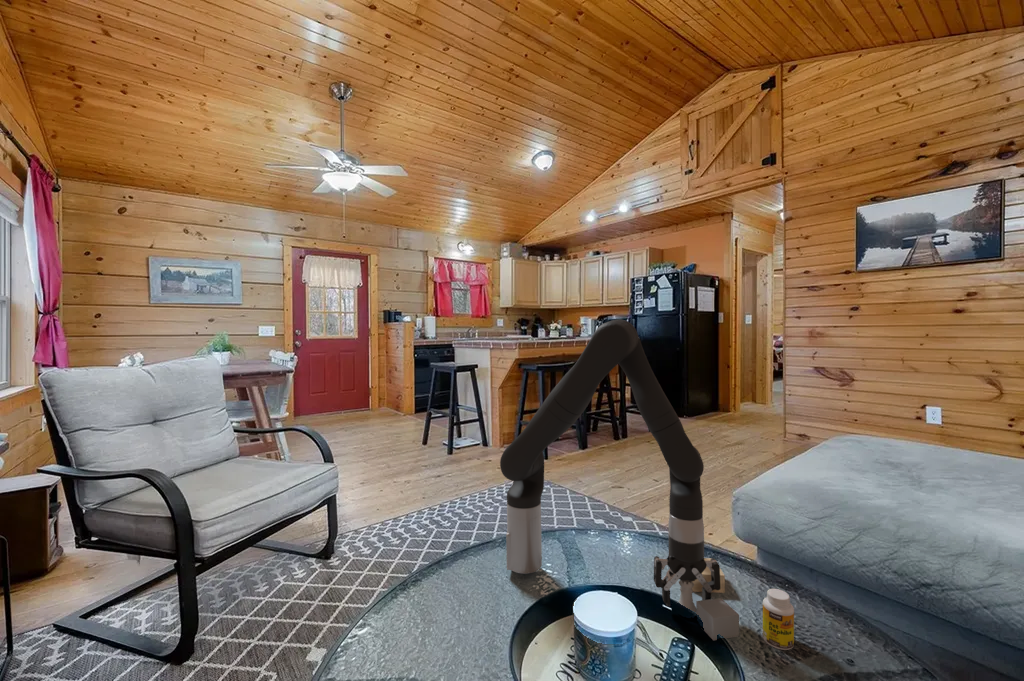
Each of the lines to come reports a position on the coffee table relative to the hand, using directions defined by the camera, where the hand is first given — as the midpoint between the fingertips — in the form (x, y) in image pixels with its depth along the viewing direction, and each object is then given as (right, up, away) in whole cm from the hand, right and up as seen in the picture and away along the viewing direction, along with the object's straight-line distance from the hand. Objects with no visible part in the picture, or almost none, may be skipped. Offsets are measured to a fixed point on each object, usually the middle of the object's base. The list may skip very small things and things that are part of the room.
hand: (686, 605), depth 101 cm
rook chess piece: (0, -2, 0) cm, 2 cm away
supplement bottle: (+15, -2, -10) cm, 18 cm away
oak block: (+9, -2, +12) cm, 15 cm away
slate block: (+4, -2, -5) cm, 7 cm away
